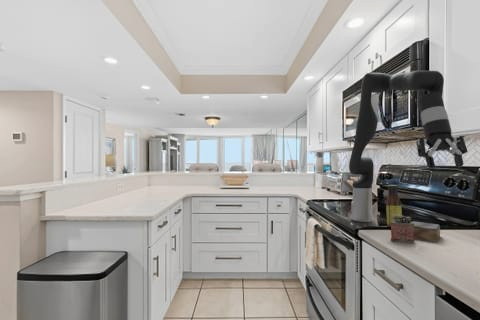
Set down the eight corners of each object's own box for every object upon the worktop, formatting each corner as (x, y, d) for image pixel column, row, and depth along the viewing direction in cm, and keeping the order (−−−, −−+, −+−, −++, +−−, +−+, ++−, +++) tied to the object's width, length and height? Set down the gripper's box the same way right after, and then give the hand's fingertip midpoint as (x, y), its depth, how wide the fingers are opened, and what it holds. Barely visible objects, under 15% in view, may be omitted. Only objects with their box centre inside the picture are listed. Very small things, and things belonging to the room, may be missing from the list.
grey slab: (406, 237, 110) (406, 225, 110) (411, 232, 117) (411, 221, 117) (436, 242, 103) (436, 229, 103) (440, 236, 110) (439, 224, 110)
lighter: (412, 240, 105) (412, 215, 105) (415, 243, 102) (415, 217, 102) (389, 239, 107) (389, 214, 107) (392, 242, 104) (391, 216, 104)
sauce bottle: (405, 228, 124) (404, 185, 124) (395, 229, 122) (395, 186, 122) (392, 225, 130) (392, 184, 130) (383, 226, 128) (382, 184, 128)
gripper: (450, 125, 96) (460, 169, 92) (408, 127, 97) (417, 171, 93) (464, 116, 89) (477, 163, 85) (419, 119, 90) (429, 166, 86)
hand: (445, 167), depth 89 cm, fingers open, 8 cm apart
